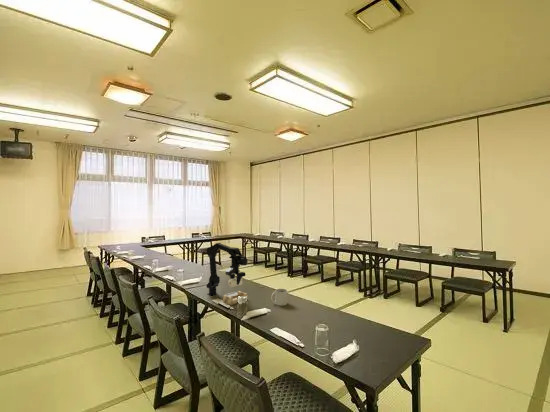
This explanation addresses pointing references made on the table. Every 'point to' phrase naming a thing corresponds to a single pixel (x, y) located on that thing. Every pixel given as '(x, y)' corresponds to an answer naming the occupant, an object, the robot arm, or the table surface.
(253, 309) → the table surface
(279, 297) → the mug
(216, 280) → the robot arm
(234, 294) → the rest
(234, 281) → the roll
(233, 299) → the holder
